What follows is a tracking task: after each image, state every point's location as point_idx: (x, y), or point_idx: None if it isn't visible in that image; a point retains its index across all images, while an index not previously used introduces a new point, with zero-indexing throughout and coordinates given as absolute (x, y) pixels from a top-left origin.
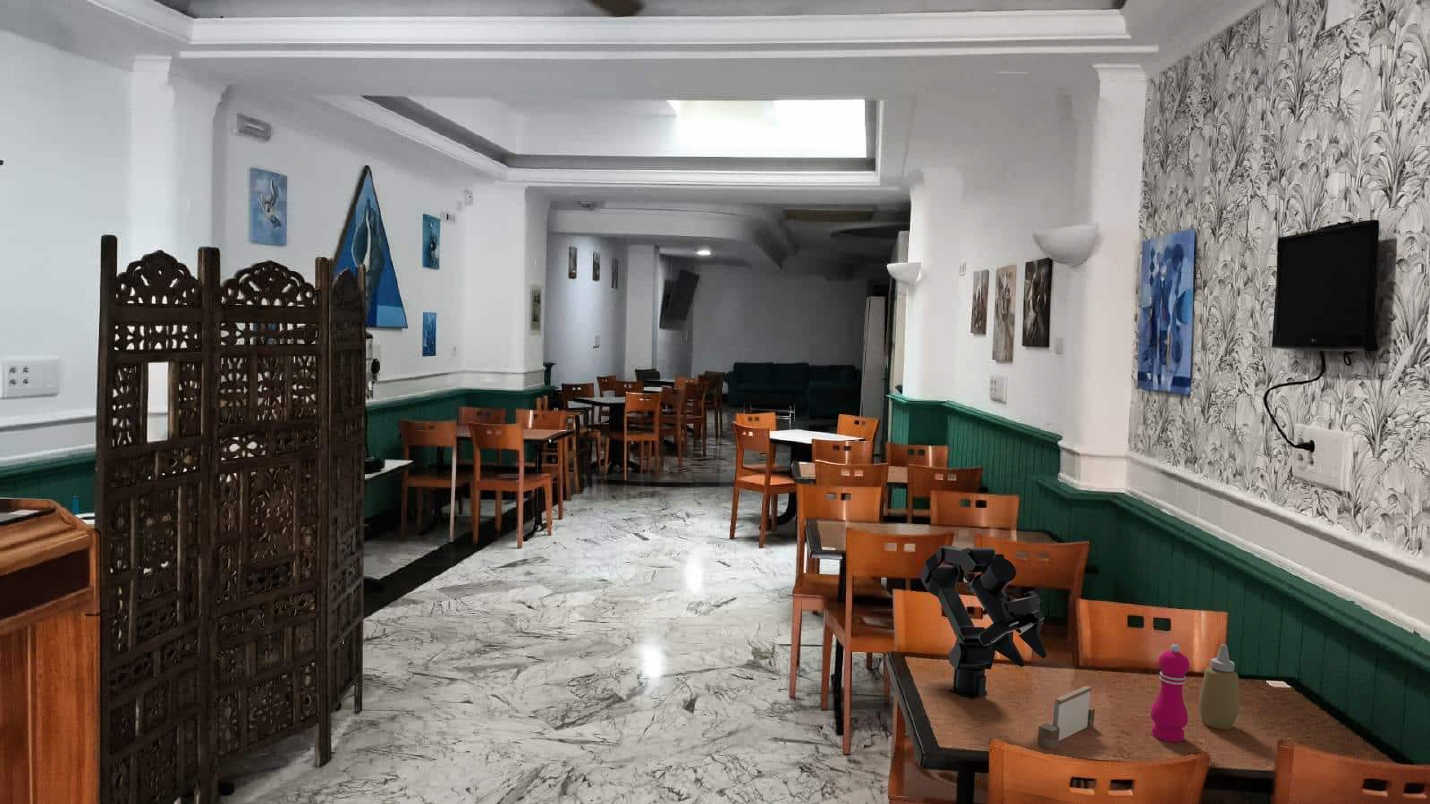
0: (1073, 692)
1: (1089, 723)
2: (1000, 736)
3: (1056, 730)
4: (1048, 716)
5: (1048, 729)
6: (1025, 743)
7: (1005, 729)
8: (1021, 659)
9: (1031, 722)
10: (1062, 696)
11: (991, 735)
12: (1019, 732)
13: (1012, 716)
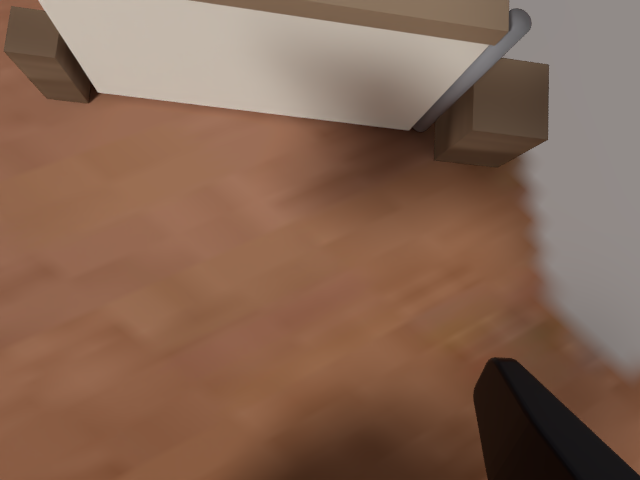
0: None
1: None
2: (540, 330)
3: (504, 60)
4: (98, 286)
5: (542, 86)
6: (517, 214)
7: (449, 356)
8: (561, 409)
9: (258, 310)
10: (421, 9)
11: (564, 364)
12: (427, 291)
13: (260, 420)
